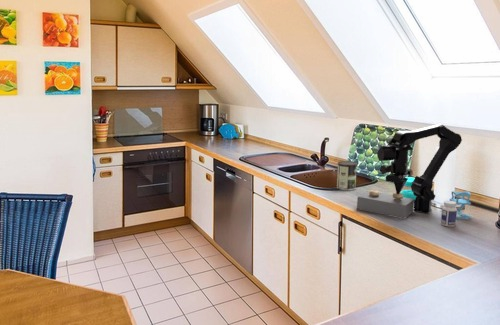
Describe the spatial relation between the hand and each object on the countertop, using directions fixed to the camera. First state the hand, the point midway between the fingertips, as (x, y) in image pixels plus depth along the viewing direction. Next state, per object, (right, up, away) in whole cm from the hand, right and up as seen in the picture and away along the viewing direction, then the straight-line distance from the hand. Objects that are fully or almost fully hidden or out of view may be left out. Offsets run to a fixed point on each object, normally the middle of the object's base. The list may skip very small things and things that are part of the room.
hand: (398, 193), depth 195 cm
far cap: (-9, -6, +8) cm, 13 cm away
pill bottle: (+16, -12, -13) cm, 24 cm away
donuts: (+15, -4, +25) cm, 29 cm away
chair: (+26, -10, -2) cm, 28 cm away
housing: (-4, -8, +5) cm, 11 cm away
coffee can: (-14, 0, +43) cm, 45 cm away
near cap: (0, -6, +1) cm, 7 cm away
